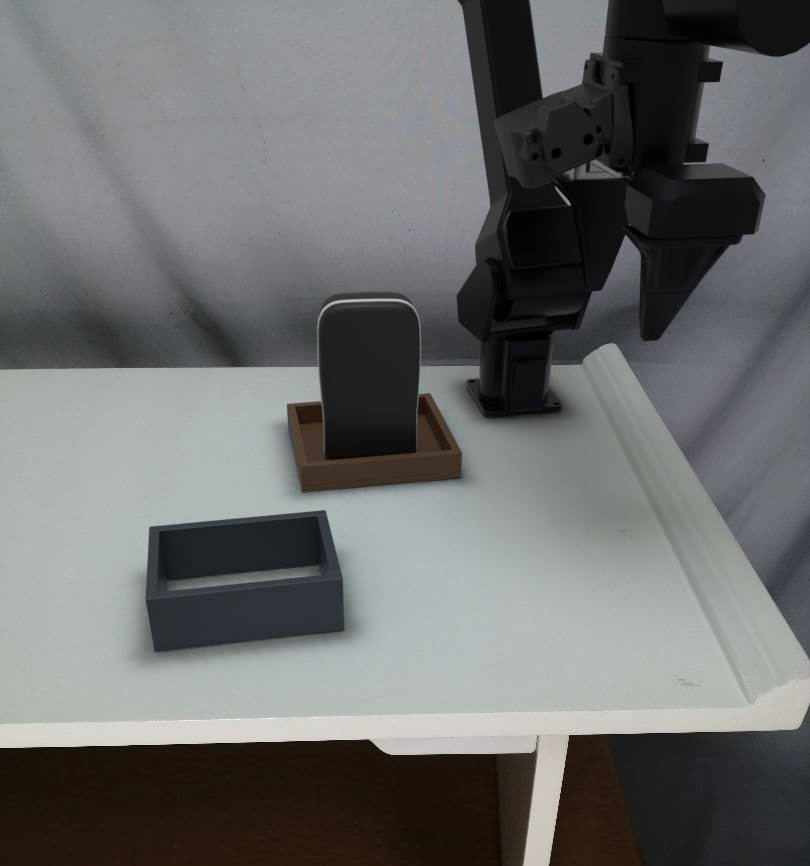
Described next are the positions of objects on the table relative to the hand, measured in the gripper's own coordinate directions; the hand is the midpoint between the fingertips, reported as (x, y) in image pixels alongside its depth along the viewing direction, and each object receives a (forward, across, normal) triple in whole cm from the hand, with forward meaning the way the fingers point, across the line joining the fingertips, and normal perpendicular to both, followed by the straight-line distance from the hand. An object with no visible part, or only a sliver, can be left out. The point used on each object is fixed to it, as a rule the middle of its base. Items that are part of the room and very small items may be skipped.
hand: (619, 313), depth 60 cm
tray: (+12, -7, -15) cm, 20 cm away
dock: (+12, +10, -25) cm, 29 cm away
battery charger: (+12, -6, -15) cm, 20 cm away
